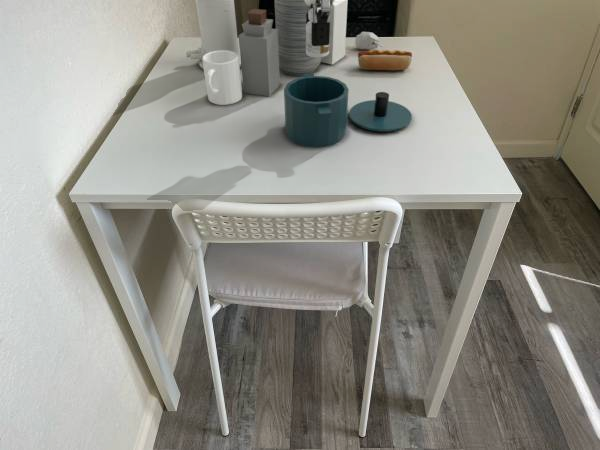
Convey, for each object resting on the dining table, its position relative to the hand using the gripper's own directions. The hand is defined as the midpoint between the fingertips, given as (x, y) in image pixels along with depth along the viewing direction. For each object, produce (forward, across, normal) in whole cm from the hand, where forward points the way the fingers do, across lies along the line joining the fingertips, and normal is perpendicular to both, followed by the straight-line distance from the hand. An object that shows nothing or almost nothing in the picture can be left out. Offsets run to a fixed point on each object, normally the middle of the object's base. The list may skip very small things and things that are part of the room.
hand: (317, 39), depth 84 cm
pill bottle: (+3, 0, 0) cm, 3 cm away
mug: (+19, -18, -19) cm, 33 cm away
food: (+19, -29, +24) cm, 42 cm away
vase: (+19, -33, +2) cm, 38 cm away
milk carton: (+19, -39, +11) cm, 45 cm away
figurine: (+19, -43, +24) cm, 53 cm away
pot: (+19, 0, 0) cm, 19 cm away
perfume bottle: (+19, -23, -9) cm, 31 cm away
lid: (+19, -3, +15) cm, 24 cm away
